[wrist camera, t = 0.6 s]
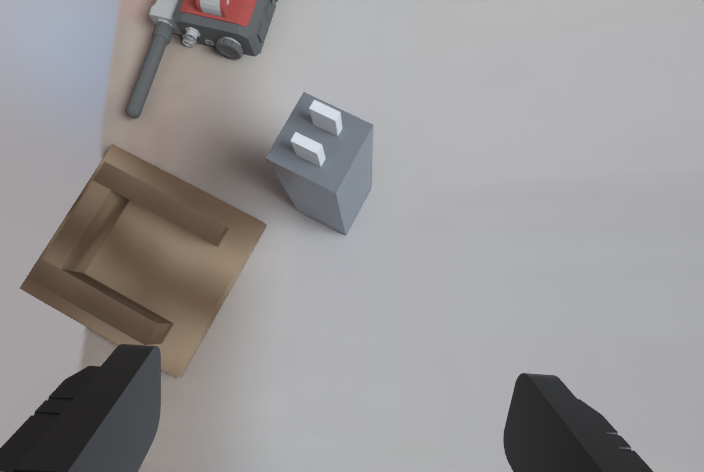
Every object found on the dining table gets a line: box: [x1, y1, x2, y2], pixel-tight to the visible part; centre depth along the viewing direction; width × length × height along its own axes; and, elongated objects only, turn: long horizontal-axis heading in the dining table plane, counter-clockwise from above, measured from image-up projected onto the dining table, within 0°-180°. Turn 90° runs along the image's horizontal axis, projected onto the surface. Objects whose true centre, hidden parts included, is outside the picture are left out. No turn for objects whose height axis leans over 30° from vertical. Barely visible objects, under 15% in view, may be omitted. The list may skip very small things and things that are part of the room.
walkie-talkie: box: [126, 0, 278, 118], centre depth 35 cm, size 9×4×20 cm
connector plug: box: [266, 92, 373, 235], centre depth 28 cm, size 4×4×13 cm
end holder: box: [20, 144, 267, 378], centre depth 32 cm, size 12×13×4 cm
